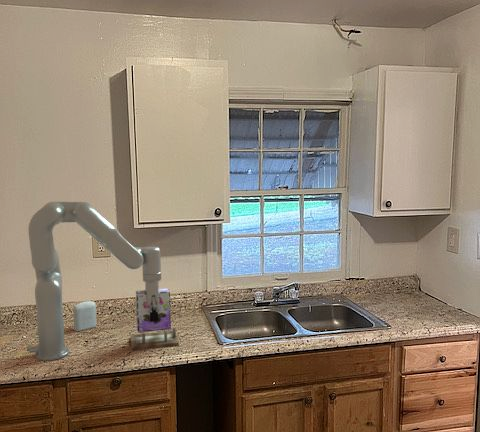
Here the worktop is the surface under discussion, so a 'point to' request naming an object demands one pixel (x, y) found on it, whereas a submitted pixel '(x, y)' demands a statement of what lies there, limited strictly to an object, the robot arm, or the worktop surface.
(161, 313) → the candy box
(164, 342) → the grey tray
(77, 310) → the photo printer
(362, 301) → the worktop surface
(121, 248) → the robot arm
